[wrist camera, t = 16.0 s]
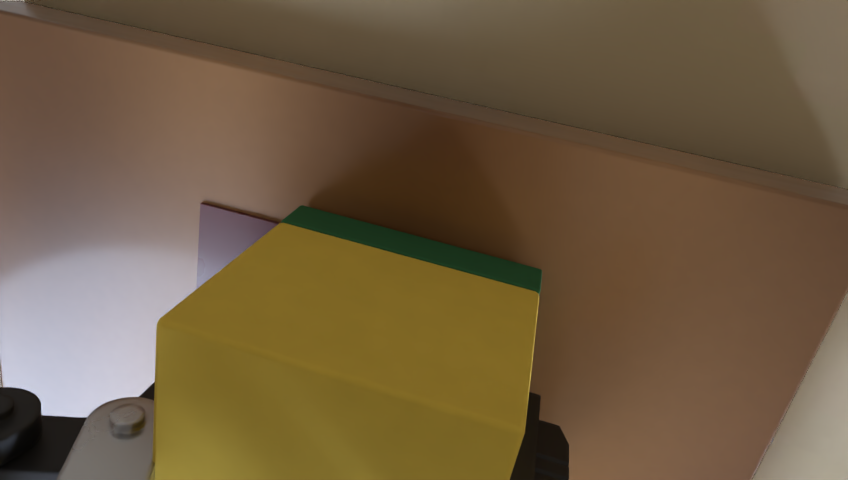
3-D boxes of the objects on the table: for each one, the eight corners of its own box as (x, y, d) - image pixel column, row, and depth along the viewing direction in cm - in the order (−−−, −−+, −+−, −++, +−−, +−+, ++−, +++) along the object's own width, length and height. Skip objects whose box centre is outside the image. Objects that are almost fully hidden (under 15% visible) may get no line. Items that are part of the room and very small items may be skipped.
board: (46, 420, 19) (3, 456, 18) (19, 0, 14) (-43, 1, 13) (651, 613, 17) (658, 671, 15) (853, 189, 12) (892, 217, 11)
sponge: (301, 203, 13) (153, 320, 8) (543, 269, 12) (526, 432, 8) (266, 480, 16) (143, 678, 11) (460, 544, 15) (412, 779, 11)
